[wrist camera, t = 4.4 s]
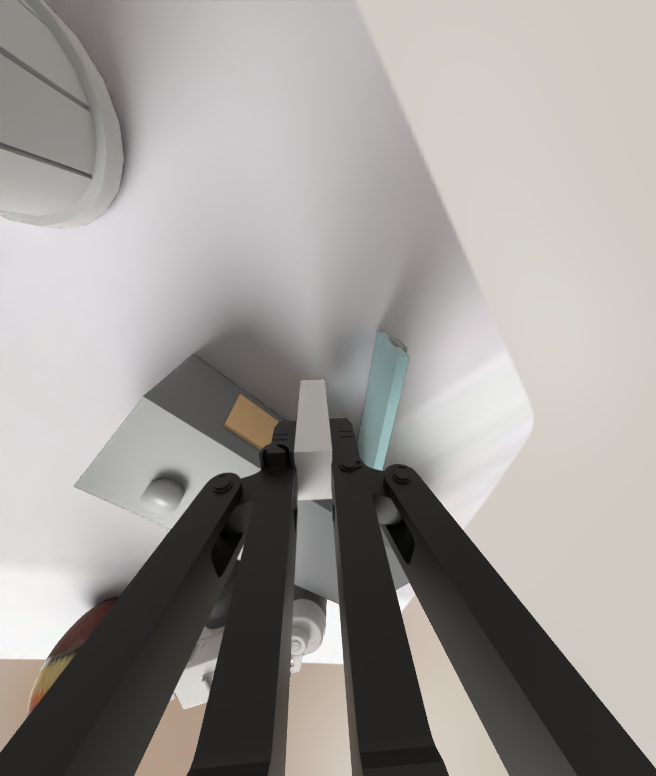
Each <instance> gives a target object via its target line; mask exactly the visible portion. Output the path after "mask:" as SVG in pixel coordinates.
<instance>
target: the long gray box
mask: <svg viewBox="0 0 656 776" xmlns="http://www.w3.org/2000/svg"><path fill="white" fill-rule="evenodd" d="M279 421H285V420H283V419H282V418H281V417H279V416H278V415H277V414H275V413H274V412H272V411H271V410H270V409H268V408H267V407H266V406H264V405H263V404H262V403H260V402H259V401H257V400H256V399H255V398H253V397H252V396H251V395H249V394H248V393H246V392H245V391H244V390H242V389H241V388H240V387H238V386H237V385H236V384H234V383H233V382H231V381H230V380H229V379H227V378H226V377H225V376H223V375H222V374H220V373H219V372H218V371H216V370H215V369H214V368H212V367H211V366H210V365H208V364H207V363H205V362H204V361H203V360H201V359H200V358H199V357H197V356H196V355H195V354H193V355H192V356H190V357H189V358H188V359H187V360H186V361H184V362H183V363H182V364H181V365H180V366H179V367H177V368H176V369H175V370H174V371H173V372H171V373H170V374H169V375H168V376H167V377H166V378H164V379H163V380H162V381H161V382H160V383H158V384H157V385H156V386H155V387H154V388H153V389H151V390H150V391H149V392H148V393H147V394H145V395H144V396H143V397H142V399H141V400H140V401H139V402H138V404H137V405H136V406H135V408H134V409H133V410H132V411H131V413H130V414H129V415H128V417H127V418H126V419H125V420H124V422H123V423H122V424H121V426H120V427H119V428H118V429H117V431H116V432H115V433H114V435H113V436H112V437H111V439H110V440H109V441H108V442H107V444H106V445H105V446H104V448H103V449H102V450H101V451H100V453H99V454H98V455H97V457H96V458H95V459H94V460H93V462H92V463H91V464H90V466H89V467H88V468H87V469H86V471H85V472H84V473H83V475H82V476H81V477H80V478H79V480H78V481H77V482H76V484H75V485H74V486H73V487H75V488H78V489H80V490H82V491H84V492H87V493H89V494H91V495H93V496H96V497H98V498H100V499H103V500H105V501H107V502H109V503H112V504H114V505H116V506H118V507H121V508H123V509H125V510H127V511H130V512H132V513H134V514H136V515H139V516H141V517H143V518H145V519H148V520H150V521H152V522H154V523H157V524H159V525H161V526H164V527H166V528H168V529H170V530H171V529H172V528H173V526H174V525H175V524H176V522H177V521H178V520H179V518H180V517H181V516H182V514H183V513H184V512H185V511H186V509H187V508H188V507H189V505H190V504H191V503H192V501H193V500H194V499H195V497H196V496H197V495H198V494H199V492H200V491H201V490H202V488H203V487H204V486H205V484H206V483H207V482H208V481H209V480H210V479H211V478H213V477H215V476H216V475H218V474H222V473H229V472H232V473H235V474H237V475H238V476H239V477H240V479H241V478H244V477H247V476H251V475H253V474H256V473H257V472H259V471H260V470H261V465H260V459H259V452H260V450H261V449H262V448H263V447H264V446H266V445H268V444H270V443H271V441H272V436H273V431H274V427H275V426H276V425H277V424H278V423H279ZM297 505H298V523H297V542H296V562H295V582H294V584H295V585H297V586H299V587H301V588H304V589H306V590H308V591H310V592H313V593H315V594H317V595H319V596H322V597H324V598H326V599H328V600H331V601H333V602H335V603H337V604H339V594H338V581H337V568H336V555H335V541H334V528H333V522H332V499H318V500H298V501H297ZM379 525H380V523H379ZM380 529H381V533H382V537H383V541H384V546H385V550H386V554H387V558H388V562H389V566H390V570H391V574H392V578H393V582H394V586H395V590H397V589H399V588H400V587H402V586H404V585H406V584H408V583H410V582H409V580H408V578H407V576H406V574H405V573H404V571H403V569H402V567H401V565H400V563H399V561H398V559H397V557H396V555H395V553H394V551H393V549H392V547H391V545H390V543H389V542H388V540H387V538H386V536H385V534H384V532H383V530H382V528H381V526H380ZM243 546H244V545H243ZM242 550H243V547H242V549H241V551H240V553H239V556H238V558H237V559H238V560H240V559H241V555H242Z"/></svg>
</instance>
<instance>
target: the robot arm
mask: <svg viewBox="0 0 656 776" xmlns="http://www.w3.org/2000/svg"><path fill="white" fill-rule="evenodd" d="M259 459H260V465H261V470H260V471H259V472H257V473H256V474H253V475H251V476H247V477H244V478H241V479H240V477H239V476H238V475H237V474H235V473H232V472H229V473H222V474H218V475H216V476H215V477H213V478H211V479H210V480H209V481H208V482H207V483H206V484H205V486H204V487H203V488H202V490H201V491H200V492H199V494H198V495H197V496H196V497H195V499H194V500H193V501H192V503H191V504H190V505H189V507H188V508H187V509H186V511H185V512H184V513H183V514H182V516H181V517H180V518H179V520H178V521H177V522H176V524H175V525H174V526H173V528H172V529H171V530H170V531H169V533H168V534H167V535H166V537H165V538H164V539H163V541H162V542H161V543H160V545H159V546H158V547H157V548H156V550H155V551H154V552H153V554H152V555H151V556H150V558H149V559H148V560H147V562H146V563H145V564H144V565H143V567H142V568H141V569H140V571H139V572H138V573H137V575H136V576H135V577H134V579H133V580H132V581H131V582H130V584H129V585H128V586H127V588H126V589H125V590H124V592H123V593H122V594H121V596H120V597H119V598H118V599H117V601H116V602H115V603H114V605H113V606H112V607H111V609H110V610H109V611H108V613H107V614H106V615H105V616H104V618H103V619H102V620H101V622H100V623H99V624H98V626H97V627H96V628H95V630H94V631H93V632H92V633H91V635H90V636H89V637H88V639H87V640H86V641H85V643H84V644H83V645H82V647H81V648H80V649H79V650H78V652H77V653H76V654H75V656H74V657H73V658H72V660H71V661H70V662H69V664H68V665H67V666H66V667H65V669H64V670H63V671H62V673H61V674H60V675H59V677H58V678H57V679H56V681H55V682H54V683H53V684H52V686H51V687H50V688H49V690H48V691H47V692H46V694H45V695H44V696H43V697H42V699H41V700H40V701H39V703H38V704H37V705H36V707H35V708H34V709H33V711H32V712H31V713H30V714H29V716H28V717H27V718H26V720H25V721H24V722H23V724H22V725H21V726H20V728H19V729H18V730H17V731H16V733H15V734H14V735H13V737H12V738H11V739H10V741H9V742H8V743H7V745H6V746H5V747H4V748H3V750H2V751H1V752H0V776H134V774H135V772H136V770H137V768H138V766H139V764H140V762H141V760H142V758H143V756H144V753H145V751H146V749H147V747H148V745H149V743H150V741H151V739H152V737H153V735H154V732H155V730H156V728H157V726H158V724H159V722H160V720H161V718H162V716H163V713H164V711H165V709H166V707H167V705H168V703H169V701H170V699H171V697H172V695H173V692H174V690H175V688H176V686H177V684H178V682H179V680H180V678H181V676H182V673H183V671H184V669H185V667H186V665H187V663H188V661H189V659H190V657H191V655H192V652H193V650H194V648H195V646H196V644H197V642H198V640H199V638H200V636H201V633H202V631H203V629H204V627H205V625H206V623H207V621H208V619H209V617H210V615H211V612H212V610H213V608H214V606H215V604H216V602H217V600H218V598H219V596H220V593H221V591H222V589H223V587H224V585H225V583H226V581H227V579H228V577H229V575H230V572H231V570H232V568H233V566H234V564H235V562H236V560H237V558H238V556H239V553H240V551H241V549H242V547H243V550H242V555H241V559H240V563H239V568H238V572H237V576H236V580H235V585H234V589H233V593H232V598H231V602H230V606H229V611H228V615H227V619H226V624H225V628H224V632H223V637H222V641H221V645H220V650H219V654H218V658H217V662H216V667H215V671H214V675H213V680H212V684H211V688H210V693H209V697H208V701H207V706H206V710H205V714H204V719H203V723H202V727H201V731H200V736H199V740H198V744H197V748H196V752H195V756H194V759H193V762H192V765H191V768H190V770H189V772H188V774H187V776H285V758H286V740H287V720H288V701H289V681H290V680H289V679H290V661H291V641H292V622H293V602H294V582H295V562H296V542H297V523H298V505H297V501H298V500H318V499H332V522H333V528H334V541H335V555H336V568H337V581H338V594H339V607H340V621H341V634H342V647H343V660H344V673H345V686H346V700H347V713H348V726H349V738H350V751H351V765H352V776H449V775H448V772H447V769H446V766H445V764H444V761H443V759H442V758H441V756H440V754H439V752H438V750H437V748H436V746H435V744H434V741H433V738H432V735H431V731H430V728H429V724H428V720H427V716H426V712H425V708H424V704H423V700H422V696H421V692H420V688H419V683H418V679H417V675H416V671H415V667H414V663H413V659H412V655H411V651H410V647H409V643H408V639H407V635H406V631H405V627H404V623H403V619H402V614H401V610H400V606H399V602H398V598H397V594H396V590H395V586H394V582H393V578H392V574H391V570H390V566H389V562H388V558H387V554H386V550H385V546H384V541H383V537H382V533H381V529H380V526H381V528H382V530H383V532H384V534H385V536H386V538H387V540H388V542H389V543H390V545H391V547H392V549H393V551H394V553H395V555H396V557H397V559H398V561H399V563H400V565H401V567H402V569H403V571H404V573H405V574H406V576H407V578H408V580H409V582H410V584H411V586H412V588H413V590H414V592H415V594H416V596H417V598H418V599H419V602H420V603H421V605H422V607H423V609H424V611H425V613H426V615H427V617H428V619H429V621H430V623H431V625H432V627H433V629H434V630H435V633H436V634H437V636H438V638H439V640H440V642H441V644H442V646H443V648H444V650H445V652H446V654H447V656H448V658H449V659H450V661H451V663H452V665H453V667H454V669H455V671H456V673H457V675H458V677H459V679H460V681H461V683H462V685H463V687H464V689H465V691H466V692H467V694H468V696H469V698H470V700H471V702H472V704H473V706H474V708H475V710H476V712H477V714H478V716H479V718H480V720H481V722H482V723H483V725H484V727H485V729H486V731H487V733H488V735H489V737H490V739H491V741H492V743H493V745H494V746H495V749H496V751H497V753H498V754H499V756H500V758H501V760H502V762H503V764H504V766H505V768H506V770H507V772H508V774H509V776H656V768H655V767H654V766H653V765H652V763H651V762H650V761H649V760H648V758H647V757H646V756H645V755H644V753H643V752H642V751H641V750H640V748H639V747H638V746H637V745H636V744H635V742H633V740H632V739H631V737H630V736H629V735H628V734H627V732H626V731H625V730H624V729H623V727H622V726H621V725H620V724H619V723H618V721H617V720H616V719H615V718H614V716H613V715H612V714H611V713H610V711H609V710H608V709H607V708H606V707H605V705H604V704H603V703H602V702H601V700H600V699H599V698H598V697H597V695H596V694H595V693H594V692H593V690H592V689H591V688H590V687H589V685H588V684H587V683H586V682H585V680H584V679H583V678H582V677H581V676H580V674H579V673H578V672H577V671H576V670H575V668H574V667H573V666H572V665H571V663H570V662H569V661H568V660H567V658H566V657H565V656H564V654H563V653H562V652H561V651H560V650H559V648H558V647H557V646H556V645H555V644H554V642H553V641H552V640H551V638H550V637H549V636H548V635H547V633H546V632H545V631H544V630H543V629H542V627H541V626H540V625H539V624H538V622H536V620H535V619H534V617H533V616H532V615H531V614H530V613H529V611H528V610H527V609H526V608H525V606H524V605H523V604H522V603H521V602H520V600H519V599H518V598H517V596H516V595H515V594H514V593H513V592H512V590H511V589H510V588H509V586H508V585H507V584H506V583H505V582H504V580H503V579H502V578H501V577H500V575H499V574H498V573H497V572H496V570H495V569H494V568H493V567H492V565H491V564H490V563H489V562H488V561H487V559H486V558H485V557H484V556H483V554H482V553H481V552H480V551H479V549H478V548H477V547H476V546H475V544H474V543H473V542H472V541H471V539H470V538H469V537H468V536H467V535H466V533H465V532H464V531H463V530H462V528H461V527H460V526H459V525H458V523H457V522H456V521H455V520H454V518H453V517H452V516H451V515H450V513H449V512H448V511H447V510H446V509H445V507H444V506H443V505H442V504H441V502H440V501H439V500H438V499H437V497H436V496H435V495H434V494H433V492H432V491H431V490H430V489H429V488H428V486H427V485H426V484H425V483H424V481H423V480H422V479H421V478H420V476H419V475H418V474H417V473H416V472H415V471H414V470H413V469H412V468H410V467H408V466H406V465H401V464H395V465H391V466H389V467H387V469H386V470H385V471H381V470H377V469H373V468H370V467H368V466H367V465H365V464H364V463H363V461H362V460H361V459H360V456H359V452H358V448H357V443H356V439H355V435H354V432H353V426H352V424H351V422H350V421H349V420H348V419H347V418H344V419H329V415H328V405H327V395H326V386H325V379H321V380H301V381H300V392H299V403H298V414H297V421H279V423H278V424H277V425H276V426H275V427H274V431H273V436H272V441H271V443H270V444H268V445H266V446H264V447H263V448H262V449H261V450H260V452H259ZM379 523H380V525H379ZM243 545H244V546H243Z"/></svg>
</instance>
